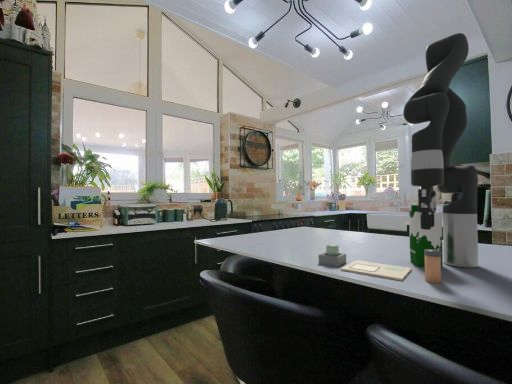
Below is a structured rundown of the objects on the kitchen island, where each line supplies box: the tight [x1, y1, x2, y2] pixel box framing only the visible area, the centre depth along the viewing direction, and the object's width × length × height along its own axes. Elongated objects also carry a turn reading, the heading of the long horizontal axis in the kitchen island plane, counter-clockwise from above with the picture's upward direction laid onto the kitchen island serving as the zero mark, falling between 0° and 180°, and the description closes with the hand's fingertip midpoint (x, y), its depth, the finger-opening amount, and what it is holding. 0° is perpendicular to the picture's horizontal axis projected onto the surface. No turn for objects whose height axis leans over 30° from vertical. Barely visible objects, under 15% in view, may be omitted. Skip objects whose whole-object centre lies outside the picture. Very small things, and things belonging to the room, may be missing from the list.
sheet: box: [340, 259, 413, 282], centre depth 83 cm, size 14×17×1 cm
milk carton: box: [408, 204, 443, 268], centre depth 90 cm, size 9×9×20 cm
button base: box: [318, 251, 347, 267], centre depth 92 cm, size 7×7×3 cm
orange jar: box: [424, 249, 442, 284], centre depth 72 cm, size 4×4×8 cm
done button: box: [325, 244, 340, 256], centre depth 93 cm, size 4×4×4 cm
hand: (427, 228), depth 72 cm, fingers open, 8 cm apart
